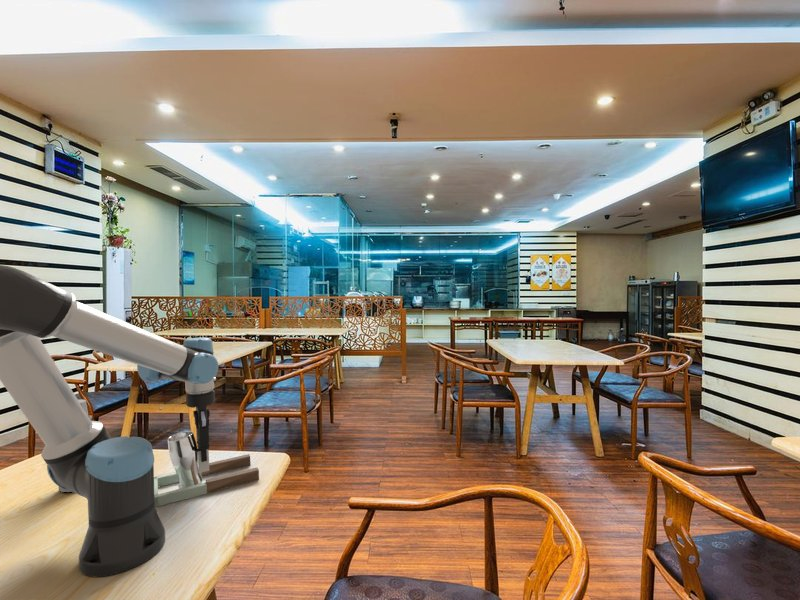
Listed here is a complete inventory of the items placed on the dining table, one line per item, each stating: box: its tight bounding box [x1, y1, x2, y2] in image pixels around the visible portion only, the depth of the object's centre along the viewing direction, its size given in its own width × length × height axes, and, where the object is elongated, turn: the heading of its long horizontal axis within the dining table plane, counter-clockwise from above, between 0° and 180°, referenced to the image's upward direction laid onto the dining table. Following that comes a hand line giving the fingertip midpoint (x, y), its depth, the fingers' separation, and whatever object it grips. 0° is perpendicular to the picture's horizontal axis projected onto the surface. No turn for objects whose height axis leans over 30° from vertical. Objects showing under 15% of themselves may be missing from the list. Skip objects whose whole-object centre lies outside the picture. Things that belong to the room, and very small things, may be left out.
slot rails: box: [201, 453, 260, 494], centre depth 119 cm, size 14×14×3 cm
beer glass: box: [167, 430, 203, 489], centre depth 113 cm, size 7×7×15 cm
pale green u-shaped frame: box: [154, 467, 208, 508], centre depth 112 cm, size 14×13×2 cm
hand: (204, 470), depth 116 cm, fingers closed
